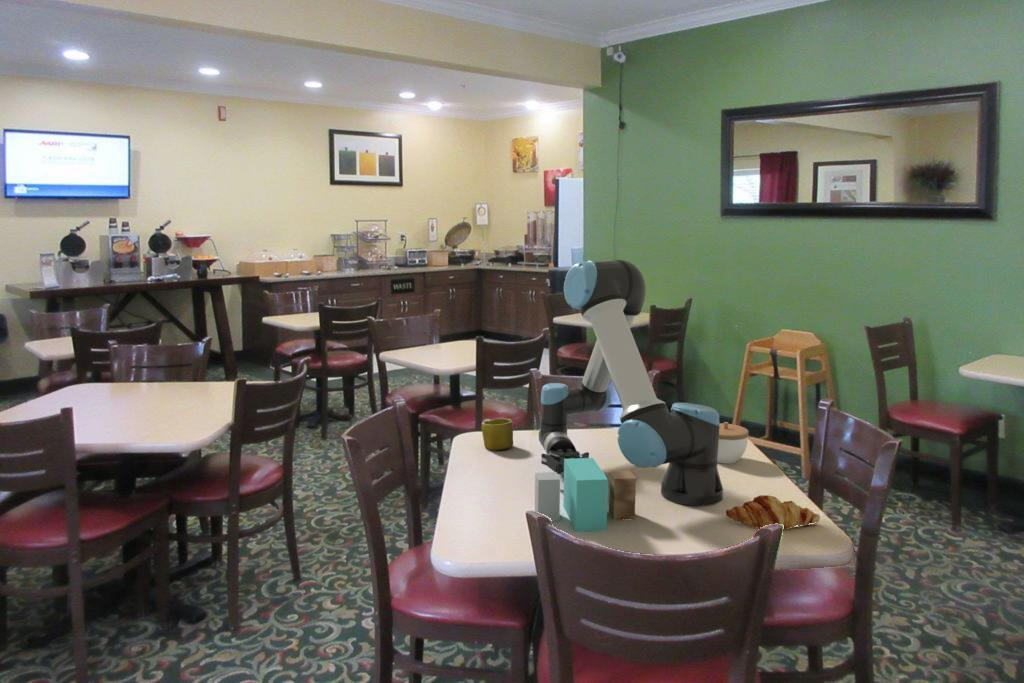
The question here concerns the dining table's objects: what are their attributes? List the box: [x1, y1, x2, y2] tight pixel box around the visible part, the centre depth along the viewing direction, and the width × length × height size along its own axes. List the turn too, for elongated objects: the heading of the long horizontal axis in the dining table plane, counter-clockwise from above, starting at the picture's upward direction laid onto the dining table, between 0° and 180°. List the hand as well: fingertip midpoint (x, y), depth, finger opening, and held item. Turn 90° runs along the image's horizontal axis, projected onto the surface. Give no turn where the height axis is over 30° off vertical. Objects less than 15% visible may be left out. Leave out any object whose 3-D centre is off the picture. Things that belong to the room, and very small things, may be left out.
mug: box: [481, 418, 514, 452], centre depth 232 cm, size 12×10×10 cm
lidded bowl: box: [717, 421, 750, 465], centre depth 220 cm, size 13×13×11 cm
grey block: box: [534, 471, 561, 522], centre depth 178 cm, size 5×5×10 cm
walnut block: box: [607, 470, 637, 521], centre depth 180 cm, size 5×5×10 cm
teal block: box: [562, 457, 609, 533], centre depth 178 cm, size 7×15×12 cm, turn 7°
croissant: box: [725, 494, 821, 530], centre depth 176 cm, size 21×10×8 cm, turn 89°
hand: (577, 479), depth 186 cm, fingers closed
